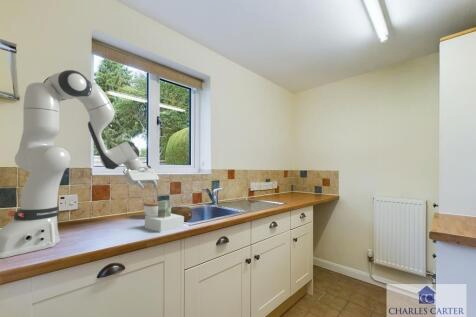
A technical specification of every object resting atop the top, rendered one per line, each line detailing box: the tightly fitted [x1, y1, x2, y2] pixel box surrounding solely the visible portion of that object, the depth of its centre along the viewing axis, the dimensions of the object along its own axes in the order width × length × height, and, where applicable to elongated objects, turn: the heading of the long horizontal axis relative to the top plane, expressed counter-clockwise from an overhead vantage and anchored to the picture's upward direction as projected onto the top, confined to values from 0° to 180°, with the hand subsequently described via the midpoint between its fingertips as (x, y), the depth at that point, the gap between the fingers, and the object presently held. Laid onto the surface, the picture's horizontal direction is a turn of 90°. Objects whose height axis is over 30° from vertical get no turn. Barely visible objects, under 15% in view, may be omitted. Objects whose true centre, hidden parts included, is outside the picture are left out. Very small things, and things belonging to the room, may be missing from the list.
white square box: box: [144, 213, 185, 233], centre depth 118 cm, size 14×14×6 cm
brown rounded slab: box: [171, 205, 194, 223], centre depth 134 cm, size 15×3×8 cm, turn 76°
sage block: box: [157, 199, 172, 218], centre depth 119 cm, size 5×5×8 cm
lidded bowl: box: [143, 198, 159, 216], centre depth 141 cm, size 13×13×11 cm
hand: (150, 188), depth 123 cm, fingers open, 8 cm apart
